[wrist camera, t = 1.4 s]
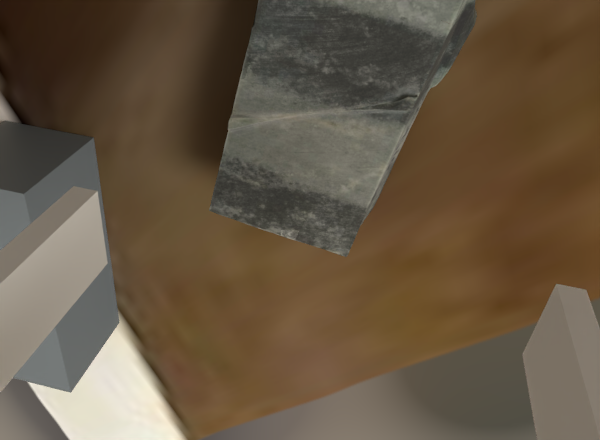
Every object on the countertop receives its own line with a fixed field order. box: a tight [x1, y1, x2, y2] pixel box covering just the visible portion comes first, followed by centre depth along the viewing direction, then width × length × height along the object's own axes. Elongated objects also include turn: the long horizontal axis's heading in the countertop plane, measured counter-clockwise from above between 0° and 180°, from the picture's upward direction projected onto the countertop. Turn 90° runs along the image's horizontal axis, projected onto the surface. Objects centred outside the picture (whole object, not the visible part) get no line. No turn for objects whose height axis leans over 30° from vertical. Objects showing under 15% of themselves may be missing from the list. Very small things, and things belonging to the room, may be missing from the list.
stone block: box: [209, 0, 477, 257], centre depth 26 cm, size 9×14×5 cm, turn 164°
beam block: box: [0, 121, 119, 392], centre depth 35 cm, size 16×6×7 cm, turn 175°
